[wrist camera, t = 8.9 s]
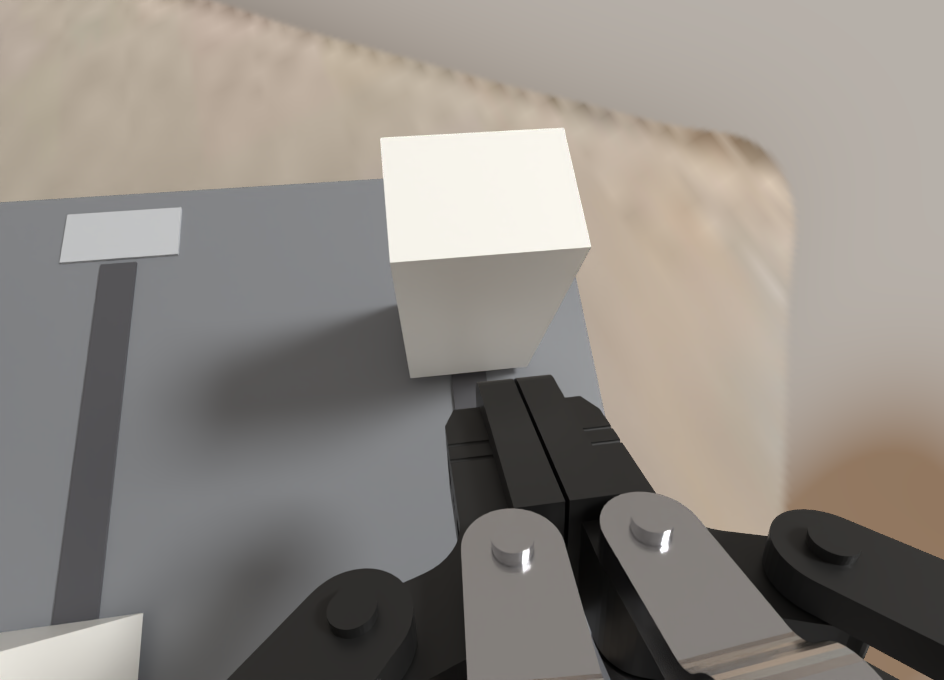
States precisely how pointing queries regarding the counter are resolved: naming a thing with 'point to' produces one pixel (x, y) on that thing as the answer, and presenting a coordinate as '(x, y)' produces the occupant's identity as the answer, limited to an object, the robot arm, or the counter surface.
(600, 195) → the counter surface
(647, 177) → the counter surface
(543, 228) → the block
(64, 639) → the tab inner
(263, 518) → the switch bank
